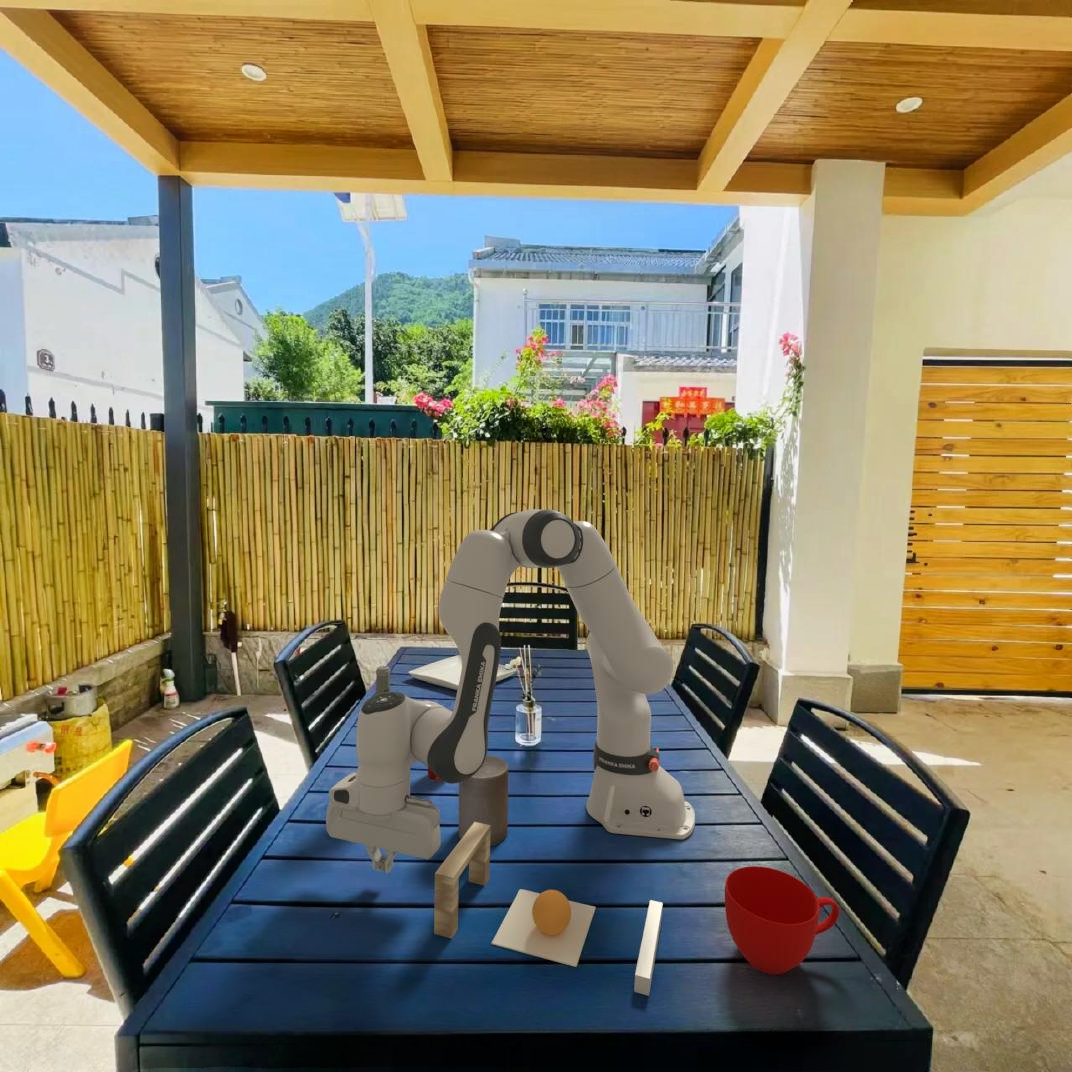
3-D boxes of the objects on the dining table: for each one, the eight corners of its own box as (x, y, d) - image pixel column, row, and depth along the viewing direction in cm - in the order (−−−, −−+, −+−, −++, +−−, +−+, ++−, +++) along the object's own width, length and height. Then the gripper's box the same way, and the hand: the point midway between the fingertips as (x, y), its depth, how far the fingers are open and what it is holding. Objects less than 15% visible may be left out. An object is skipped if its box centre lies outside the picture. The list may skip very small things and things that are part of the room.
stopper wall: (661, 917, 99) (662, 902, 99) (649, 995, 84) (649, 978, 84) (649, 914, 100) (650, 899, 99) (634, 991, 84) (635, 974, 84)
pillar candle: (504, 817, 127) (505, 747, 126) (510, 845, 117) (511, 769, 116) (456, 821, 125) (457, 749, 124) (459, 849, 116) (459, 772, 114)
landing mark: (595, 908, 101) (595, 906, 101) (576, 967, 88) (576, 965, 88) (520, 889, 105) (520, 888, 105) (491, 944, 92) (491, 942, 92)
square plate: (469, 699, 195) (469, 687, 195) (406, 682, 210) (406, 670, 209) (518, 677, 218) (518, 667, 217) (458, 663, 232) (458, 653, 232)
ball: (572, 882, 97) (536, 881, 99) (561, 904, 92) (523, 903, 93) (578, 920, 97) (543, 918, 99) (567, 945, 91) (530, 943, 93)
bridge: (489, 878, 107) (490, 825, 107) (452, 938, 93) (453, 877, 92) (473, 874, 108) (474, 821, 107) (433, 933, 94) (435, 873, 93)
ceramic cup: (860, 990, 86) (866, 922, 85) (742, 995, 85) (746, 926, 84) (811, 923, 99) (816, 864, 98) (708, 926, 97) (712, 866, 96)
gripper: (448, 793, 104) (446, 871, 105) (342, 772, 110) (342, 846, 111) (430, 812, 98) (429, 894, 99) (320, 789, 104) (320, 867, 105)
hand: (382, 869), depth 105 cm, fingers closed
